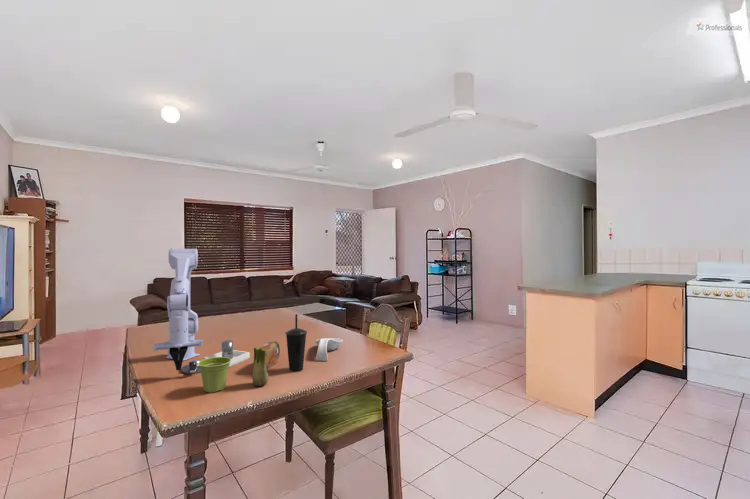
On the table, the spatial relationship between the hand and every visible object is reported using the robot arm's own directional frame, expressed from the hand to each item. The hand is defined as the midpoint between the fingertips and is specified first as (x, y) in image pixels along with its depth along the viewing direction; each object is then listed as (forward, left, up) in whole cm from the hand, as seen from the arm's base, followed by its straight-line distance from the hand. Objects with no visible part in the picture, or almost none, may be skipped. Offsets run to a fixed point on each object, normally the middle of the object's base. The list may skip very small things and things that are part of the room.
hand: (178, 369), depth 119 cm
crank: (+1, +6, -1) cm, 6 cm away
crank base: (-1, +8, -3) cm, 9 cm away
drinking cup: (+33, +21, -3) cm, 39 cm away
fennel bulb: (+30, +5, -3) cm, 30 cm away
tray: (+3, +19, -3) cm, 19 cm away
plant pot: (+19, -3, -3) cm, 19 cm away
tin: (+21, +20, -3) cm, 29 cm away
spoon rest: (+33, +44, -3) cm, 55 cm away
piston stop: (+3, +19, -2) cm, 20 cm away
